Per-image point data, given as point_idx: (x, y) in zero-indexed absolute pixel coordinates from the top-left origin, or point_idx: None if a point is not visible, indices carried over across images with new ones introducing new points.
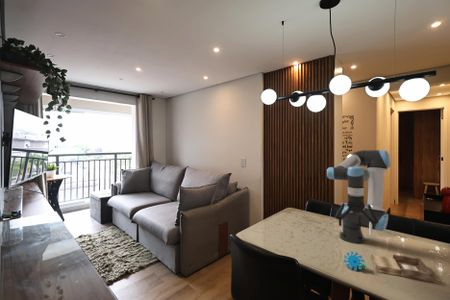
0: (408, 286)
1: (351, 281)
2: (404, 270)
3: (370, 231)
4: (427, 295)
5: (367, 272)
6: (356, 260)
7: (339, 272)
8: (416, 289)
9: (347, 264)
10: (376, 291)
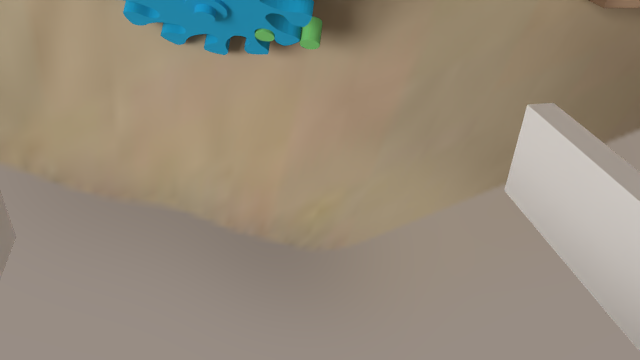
0: None
1: (175, 199)
2: (611, 4)
3: (550, 241)
4: None
5: None
6: (235, 10)
7: (80, 120)
8: None
9: (143, 19)
10: (315, 232)
